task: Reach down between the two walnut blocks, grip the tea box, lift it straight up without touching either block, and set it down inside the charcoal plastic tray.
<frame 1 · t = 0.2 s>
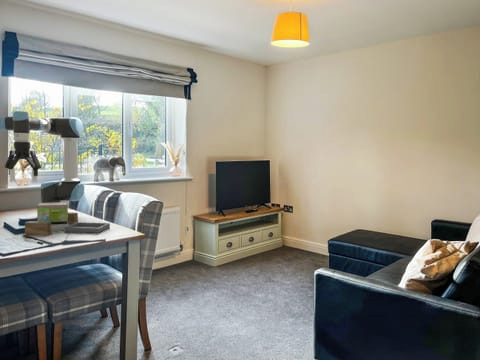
hand: (23, 181, 204), 28 cm above the table, tool pointing down, fingers open, 13 cm apart
block 2: (66, 224, 231), on the table
tray: (87, 230, 215), on the table
block 1: (38, 235, 203), on the table
tea box: (53, 229, 217), on the table
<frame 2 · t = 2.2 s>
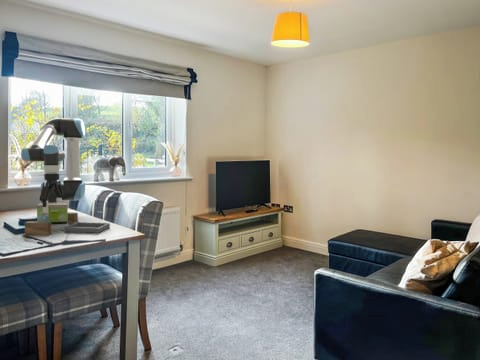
hand: (52, 211, 216), 10 cm above the table, tool pointing down, fingers open, 13 cm apart
nothing on the table moved.
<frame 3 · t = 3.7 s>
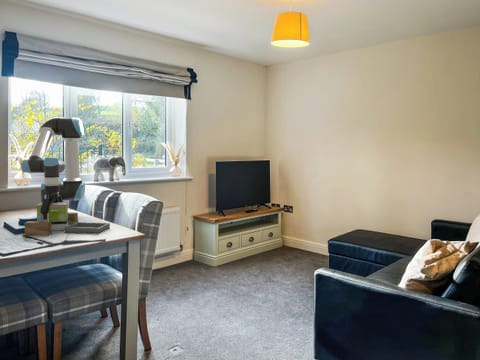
hand: (53, 223, 217), 4 cm above the table, tool pointing down, fingers closed on tea box, 12 cm apart
tea box: (53, 229, 217), on the table, touching gripper
everything else where it was.
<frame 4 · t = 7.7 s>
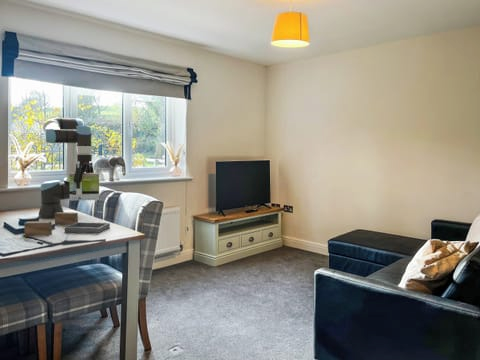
hand: (85, 193, 213), 21 cm above the table, tool pointing down, fingers closed on tea box, 12 cm apart
tea box: (85, 200, 214), point 17 cm above the table, touching gripper
everything else where it was.
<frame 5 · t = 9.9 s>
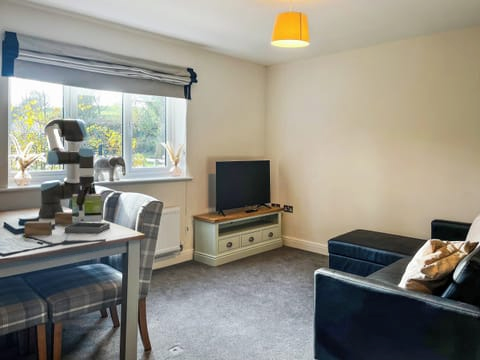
hand: (87, 214, 215), 9 cm above the table, tool pointing down, fingers closed on tea box, 12 cm apart
tea box: (87, 221, 215), point 5 cm above the table, touching gripper
everything else where it was.
when the fingers open (6 cm above the table, at t = 11.7 s): tea box stays where it is, resting on tray.
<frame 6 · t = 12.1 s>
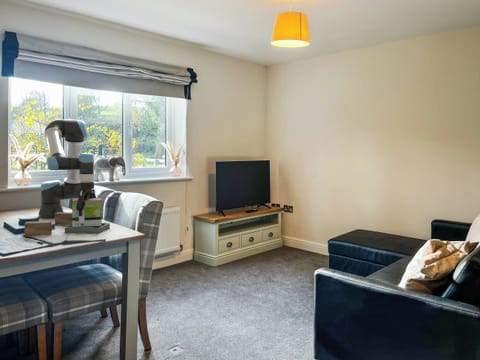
hand: (87, 219, 215), 6 cm above the table, tool pointing down, fingers open, 13 cm apart
tea box: (87, 225, 215), point 3 cm above the table, touching tray
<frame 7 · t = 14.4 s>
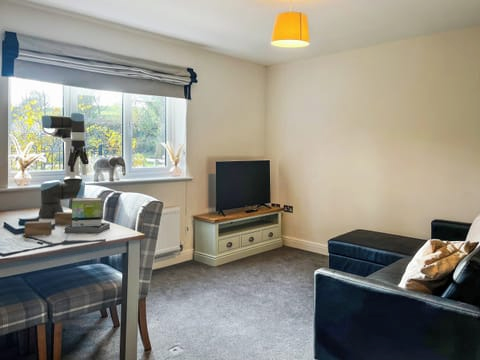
hand: (78, 176, 226), 29 cm above the table, tool pointing down, fingers open, 13 cm apart
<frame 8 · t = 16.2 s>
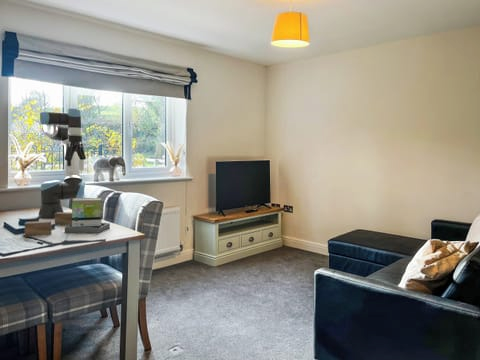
hand: (75, 171, 231), 32 cm above the table, tool pointing down, fingers open, 13 cm apart
at the end: tea box inside the target area on the tray (0.2 cm from its centre), point 2.8 cm above the tray's base; block 2 moved 0.2 cm from its start; block 1 moved 0.2 cm from its start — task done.
